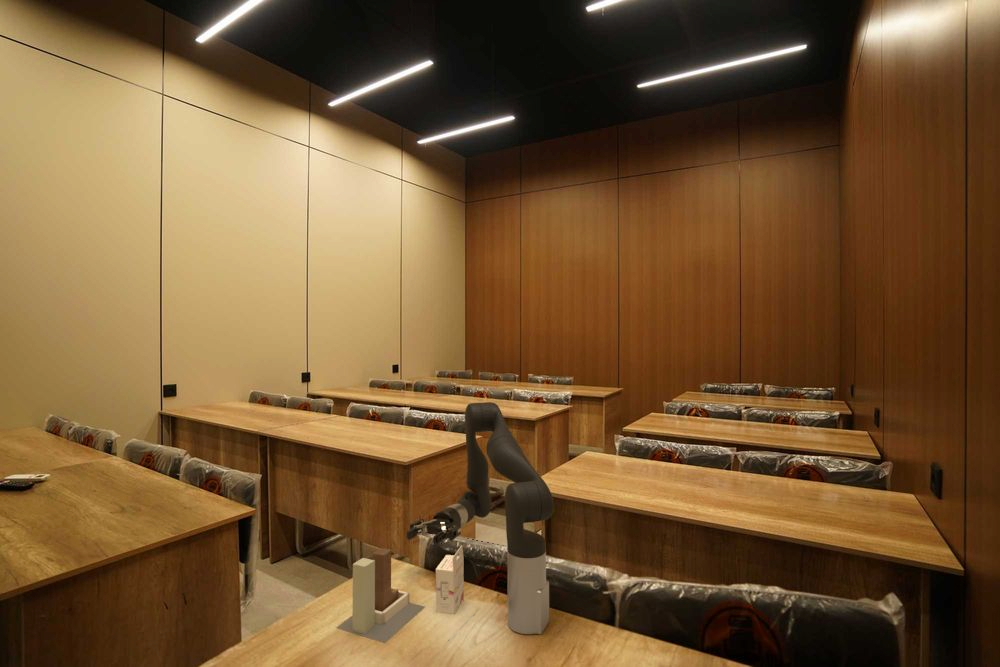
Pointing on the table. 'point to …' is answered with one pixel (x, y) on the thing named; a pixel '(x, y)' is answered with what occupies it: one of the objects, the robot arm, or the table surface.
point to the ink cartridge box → (450, 583)
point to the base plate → (388, 619)
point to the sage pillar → (363, 595)
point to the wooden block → (383, 580)
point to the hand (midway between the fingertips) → (421, 538)
